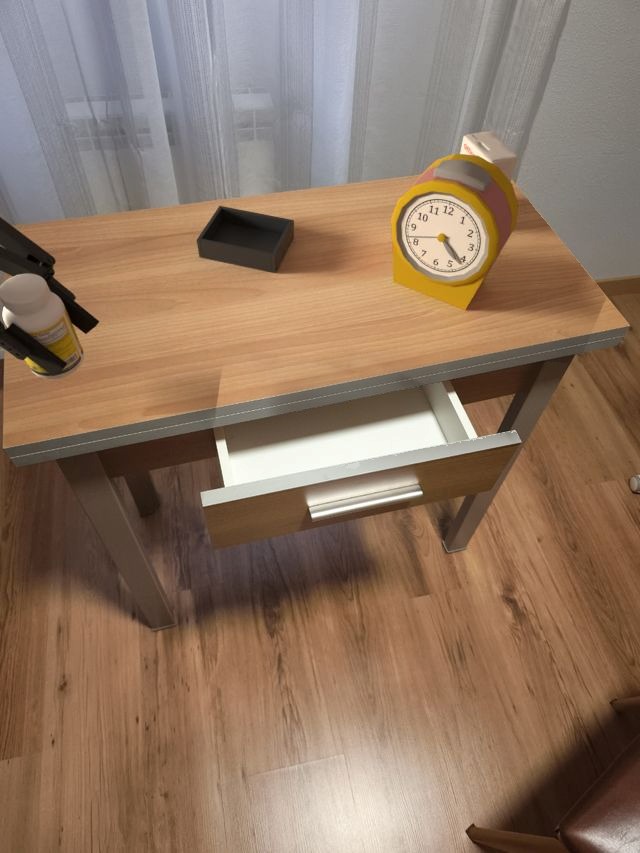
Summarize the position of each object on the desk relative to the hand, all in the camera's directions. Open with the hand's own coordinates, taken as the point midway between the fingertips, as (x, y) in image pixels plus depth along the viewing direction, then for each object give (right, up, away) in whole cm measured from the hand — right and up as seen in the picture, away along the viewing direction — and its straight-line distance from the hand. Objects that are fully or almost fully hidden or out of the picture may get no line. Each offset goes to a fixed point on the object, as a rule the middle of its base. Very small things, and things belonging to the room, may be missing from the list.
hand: (76, 348), depth 63 cm
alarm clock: (+45, +12, +21) cm, 51 cm away
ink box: (+53, +27, +31) cm, 67 cm away
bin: (+16, +19, +24) cm, 35 cm away
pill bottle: (-4, -1, +3) cm, 5 cm away
